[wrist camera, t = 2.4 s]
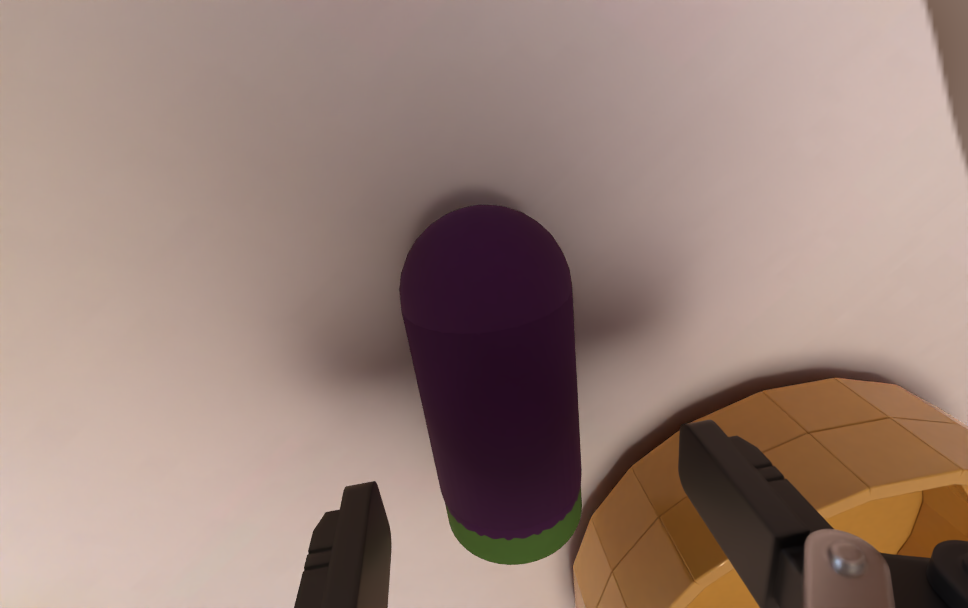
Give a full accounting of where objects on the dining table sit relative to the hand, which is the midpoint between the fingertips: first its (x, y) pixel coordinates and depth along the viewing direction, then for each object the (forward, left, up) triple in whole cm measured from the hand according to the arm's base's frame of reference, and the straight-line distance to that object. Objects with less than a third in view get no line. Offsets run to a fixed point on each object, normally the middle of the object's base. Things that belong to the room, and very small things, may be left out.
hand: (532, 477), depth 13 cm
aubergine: (0, 0, -6) cm, 6 cm away
